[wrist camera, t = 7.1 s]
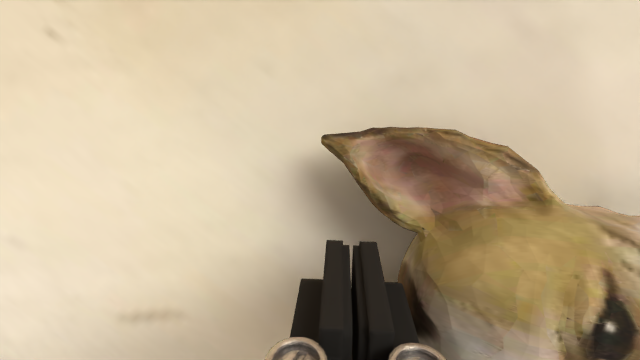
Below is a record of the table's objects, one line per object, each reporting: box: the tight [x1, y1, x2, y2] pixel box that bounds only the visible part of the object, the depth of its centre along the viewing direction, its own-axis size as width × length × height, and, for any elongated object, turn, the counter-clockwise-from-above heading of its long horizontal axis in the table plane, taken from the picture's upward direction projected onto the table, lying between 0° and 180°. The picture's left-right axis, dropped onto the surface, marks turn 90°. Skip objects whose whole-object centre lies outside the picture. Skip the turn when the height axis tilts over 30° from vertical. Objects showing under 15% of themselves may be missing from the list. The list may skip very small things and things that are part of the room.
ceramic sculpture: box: [321, 127, 640, 360], centre depth 10 cm, size 11×9×15 cm
